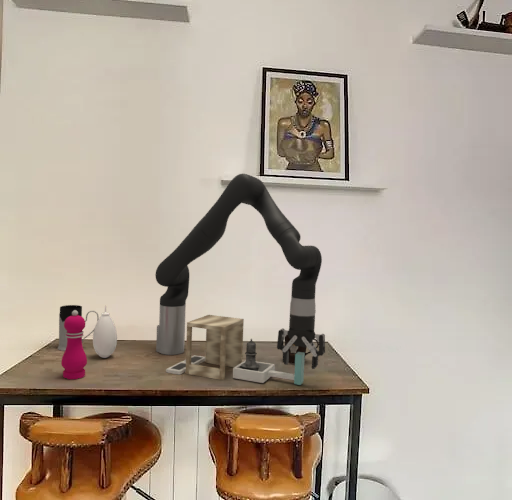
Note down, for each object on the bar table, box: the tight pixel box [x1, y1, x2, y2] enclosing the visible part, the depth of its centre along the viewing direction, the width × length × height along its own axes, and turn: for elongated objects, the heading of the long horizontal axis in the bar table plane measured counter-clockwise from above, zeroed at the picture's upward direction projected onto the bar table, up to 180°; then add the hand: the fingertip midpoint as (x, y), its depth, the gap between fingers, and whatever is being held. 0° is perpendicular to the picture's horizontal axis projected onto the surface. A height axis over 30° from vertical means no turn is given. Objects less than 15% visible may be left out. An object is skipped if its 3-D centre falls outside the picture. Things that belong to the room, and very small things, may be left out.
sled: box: [232, 352, 306, 386], centre depth 149 cm, size 20×10×9 cm, turn 68°
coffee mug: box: [284, 334, 319, 365], centre depth 168 cm, size 12×9×10 cm
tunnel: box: [185, 314, 245, 381], centre depth 155 cm, size 13×14×16 cm
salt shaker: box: [241, 338, 260, 371], centre depth 151 cm, size 6×6×12 cm
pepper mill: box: [60, 310, 88, 380], centre depth 145 cm, size 7×7×20 cm
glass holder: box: [57, 304, 100, 352], centre depth 176 cm, size 9×14×15 cm, turn 94°
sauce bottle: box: [92, 305, 118, 359], centre depth 165 cm, size 8×8×18 cm
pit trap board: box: [165, 354, 206, 376], centre depth 160 cm, size 5×18×1 cm, turn 158°
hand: (299, 366), depth 145 cm, fingers open, 8 cm apart
